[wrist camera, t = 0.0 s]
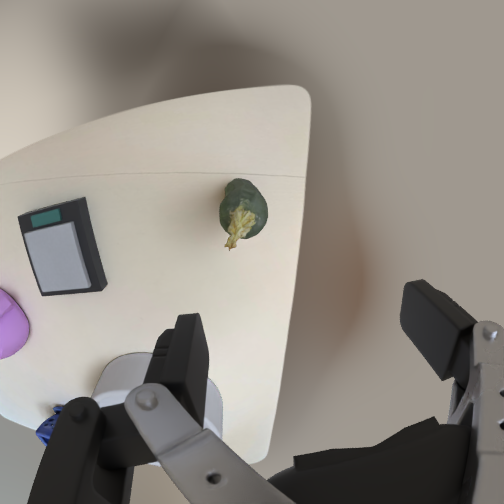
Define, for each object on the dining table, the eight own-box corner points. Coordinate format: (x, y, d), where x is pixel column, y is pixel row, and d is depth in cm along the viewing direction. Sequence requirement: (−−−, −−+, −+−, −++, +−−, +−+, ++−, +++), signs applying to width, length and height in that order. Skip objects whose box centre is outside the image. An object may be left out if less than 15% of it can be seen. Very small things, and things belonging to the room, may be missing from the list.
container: (158, 441, 57) (152, 474, 48) (80, 376, 49) (62, 409, 40) (247, 413, 53) (249, 452, 44) (165, 331, 46) (152, 371, 36)
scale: (26, 212, 37) (13, 218, 34) (85, 196, 37) (74, 201, 34) (48, 290, 42) (38, 299, 39) (107, 284, 42) (99, 294, 39)
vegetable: (249, 169, 38) (262, 191, 19) (263, 198, 39) (289, 247, 20) (218, 184, 38) (202, 220, 19) (233, 212, 40) (232, 274, 21)
